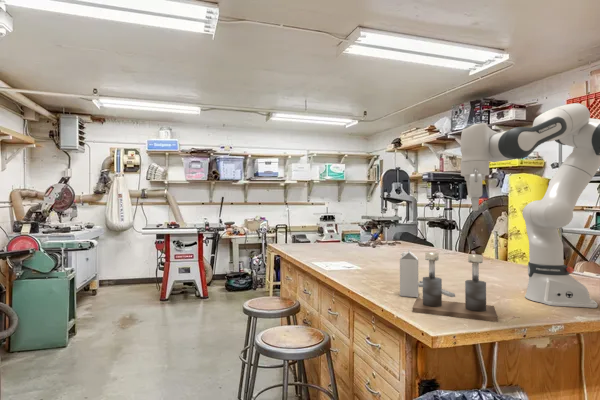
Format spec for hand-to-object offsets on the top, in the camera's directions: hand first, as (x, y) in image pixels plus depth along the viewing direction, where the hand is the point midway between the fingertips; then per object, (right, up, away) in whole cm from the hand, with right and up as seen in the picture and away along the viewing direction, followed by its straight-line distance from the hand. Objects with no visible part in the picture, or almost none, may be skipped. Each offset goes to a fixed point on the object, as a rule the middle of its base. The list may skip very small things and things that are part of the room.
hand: (475, 210), depth 124 cm
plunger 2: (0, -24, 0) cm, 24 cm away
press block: (-6, -35, +2) cm, 36 cm away
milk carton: (-15, -36, +25) cm, 46 cm away
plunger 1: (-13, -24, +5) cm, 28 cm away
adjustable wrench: (-2, -36, +34) cm, 50 cm away
